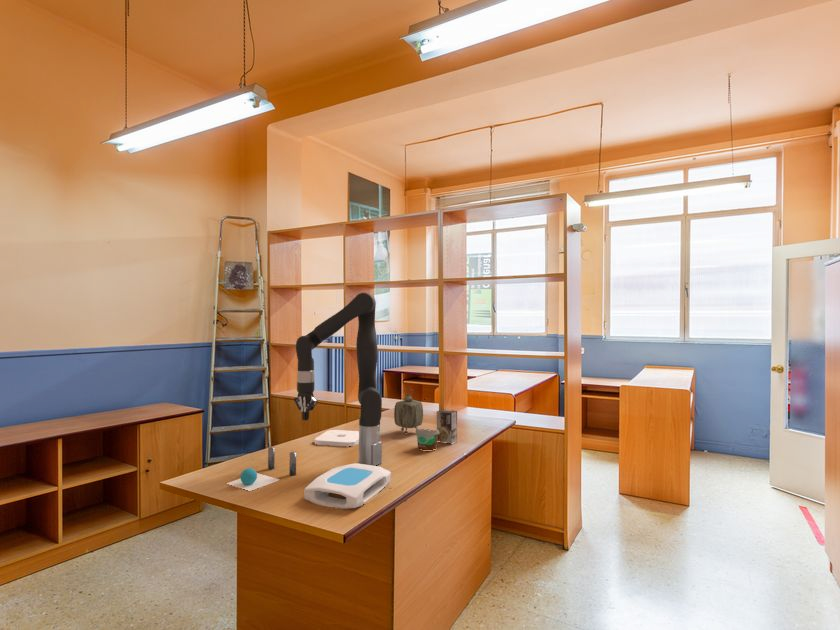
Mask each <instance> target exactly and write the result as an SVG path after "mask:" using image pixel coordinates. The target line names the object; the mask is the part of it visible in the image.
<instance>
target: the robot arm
mask: <svg viewBox="0 0 840 630" xmlns="http://www.w3.org/2000/svg"><path fill="white" fill-rule="evenodd" d="M376 304H377V301H376V298H375V297H374V295H372V294H371V293H368V292H359V293H358V294H356V296H355V297H354V298H353V299H352V300H350V302H349V303H348V304H346V306H344V307H343V308H342V309H340V310H339V311H338V312H336V313H334V314H333V315H331V316H330V317H328V318H327V319H325V320H324V321H322V322H321V323H320V324H318V325H317V326H315V328H314V329H313V330H312V331H310V332H308V333H307V334H306V335H300V336H299V337H298V338H297V340H296V342H295V351H296V359H297V372H296V374H297V375H296V392H297V396H296V397H294V398H293V401H294V402H295V405H296V406H297V409H298V410H299V411H301V414H302V415H301V419H302V421H308V420H309V419H310V412H311V411H313V410H314V408H315V407H316V405H317V404H318V399H316V398H314V397H315V396H314V392H315V361H314V358H313V353H312V350H314V349H316V348H317V347H318V346H320V345H321V343H322V342H324V341H325V340H328V339H329V338H330V337H332V336H333V335H334V334H336V333H337V332H338V331H340V330H341V329H342V328H343V327H344V326H345V325H347V324H348V323H349V322H350V321H353V319H355V318H356V319H357V320H358V329H357V335H356V345H355V347H356V348H355V349H356V360H357V369H358V370H357V371H358V394H357V399H358V403H359V404H360V416H359V418H358V431H359V443H358V464H365V465H372V466H376V465H377V466H379V465H381V464H382V462H383V459H382V457H383V454H382V452H383V451H382V449H383V446H382V445H383V442H382V441H381V419H382V408H383V407H382V404H383V403H382V400H383V399H382V395H381V393H380V392H379V391H378V390H377V384H376V369H377V365H378V359H379V358H378V357H379V356H378V354H379V353H378V339H377V331H376V307H377V306H376ZM380 463H381V464H380ZM378 464H379V465H378Z"/></svg>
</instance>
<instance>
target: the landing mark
mask: <svg viewBox="0 0 840 630" xmlns="http://www.w3.org/2000/svg"><path fill="white" fill-rule="evenodd" d="M256 473H257V479H256V480H255V482H254V483H252V484H250V485H246V484H243V483H242V481H241V479H240V478H238V479H235V480H232V481H230V482H227V483H225V484H226V485H228V484H229V485H228V486H231V485H232V486H231V487H234V486H235V487H234V488H237V487H236V486H238V485H239V486H238V487H240V488H242V489H241V490H243V489H245V490H244V491H246V490H248V491H247V492H249V491H250V492H253V491H256V490H257V488H258V489H261V488H263V487H265V486H268V485H271V484H275V483H276V482H278V481H280V479H279V478H276V477H271V476H269V475H265V474H261V473H258V472H256ZM240 488H239V489H240ZM252 490H253V491H252Z"/></svg>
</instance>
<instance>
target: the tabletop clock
mask: <svg viewBox="0 0 840 630" xmlns="http://www.w3.org/2000/svg"><path fill="white" fill-rule="evenodd" d="M405 390H410V391H412V393H411V394H410V393H409V392H408V393H405ZM402 393H403V394H404V398H403V400H400V401H397V402H395V405H394V408H393V410H394V411H393V412H394V413H393V414H394V415H393V419H394V424H395V425H396V426H397V427H400V429H401V431H404V430H405V431H404V434H405V435H407V434H408V429H416V428H418V427H419V426H422V425H423V421H424V405H423V403H422V402H421V401H419V400H416V399H413V397H412V396H413V395H414V394H415V393H414V390H413V388H410V387H405V388H404V389H403V390H402Z"/></svg>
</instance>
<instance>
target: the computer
mask: <svg viewBox="0 0 840 630" xmlns="http://www.w3.org/2000/svg"><path fill="white" fill-rule="evenodd" d="M316 444H317V446H327V445H330V446H331V447H342V446H346V447H345V448H350V447H349V446H353V447H356V446H357V445H359V430H343V429H331V430H330V429H329V430H326V431H325V432H323V433H322V434H320V435H318V436H317V437H315V438H314V445H316ZM356 444H357V445H356ZM355 445H356V446H355ZM330 446H329V447H330Z"/></svg>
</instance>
